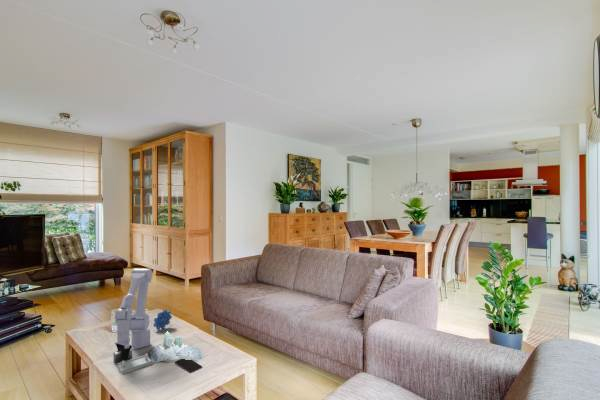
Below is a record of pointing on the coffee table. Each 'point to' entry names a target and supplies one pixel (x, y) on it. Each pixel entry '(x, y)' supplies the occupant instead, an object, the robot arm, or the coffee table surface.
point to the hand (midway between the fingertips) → (123, 357)
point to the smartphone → (188, 365)
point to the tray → (134, 364)
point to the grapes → (162, 319)
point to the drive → (119, 357)
